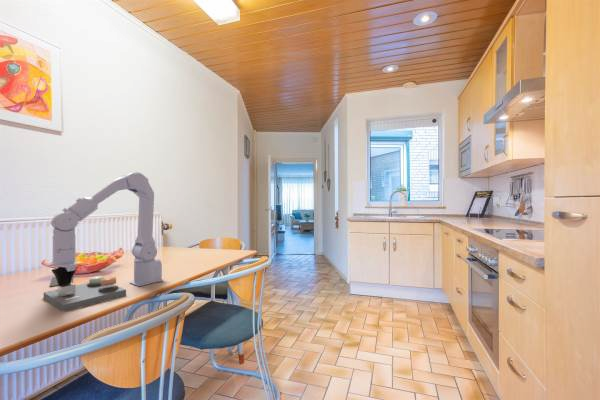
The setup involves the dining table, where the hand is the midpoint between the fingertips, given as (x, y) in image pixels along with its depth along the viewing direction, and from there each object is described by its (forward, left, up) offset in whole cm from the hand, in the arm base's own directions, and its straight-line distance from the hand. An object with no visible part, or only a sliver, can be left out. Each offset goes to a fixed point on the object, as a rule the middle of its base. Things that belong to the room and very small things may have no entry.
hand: (64, 289), depth 90 cm
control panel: (-5, +3, -3) cm, 7 cm away
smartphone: (-6, -27, -4) cm, 28 cm away
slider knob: (0, +3, -1) cm, 3 cm away
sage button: (-10, -2, -1) cm, 10 cm away
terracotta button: (-10, +8, +1) cm, 13 cm away
